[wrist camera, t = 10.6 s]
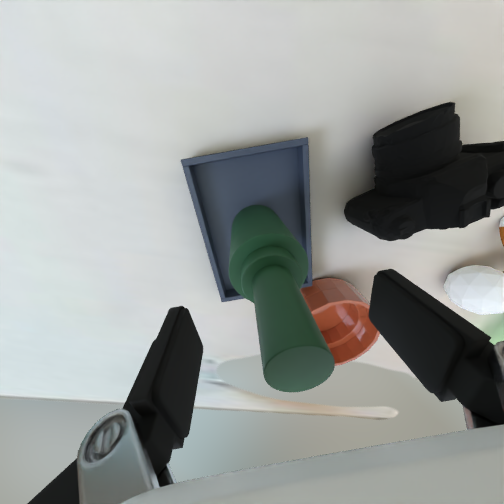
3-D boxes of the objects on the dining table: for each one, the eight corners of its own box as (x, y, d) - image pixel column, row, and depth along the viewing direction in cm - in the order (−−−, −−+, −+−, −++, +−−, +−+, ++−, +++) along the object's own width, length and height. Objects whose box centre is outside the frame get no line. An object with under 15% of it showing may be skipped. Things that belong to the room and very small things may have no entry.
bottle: (226, 209, 22) (202, 328, 6) (278, 200, 22) (387, 295, 6) (236, 255, 24) (237, 424, 9) (282, 247, 24) (368, 400, 9)
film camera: (464, 85, 19) (633, 27, 11) (462, 178, 23) (586, 186, 15) (321, 158, 21) (375, 154, 13) (342, 232, 25) (394, 266, 17)
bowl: (278, 284, 28) (287, 310, 23) (361, 269, 28) (388, 292, 23) (285, 341, 33) (294, 373, 28) (355, 328, 33) (376, 358, 28)
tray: (186, 160, 20) (180, 159, 18) (300, 139, 20) (308, 137, 18) (222, 291, 27) (221, 302, 25) (306, 276, 27) (312, 286, 25)
